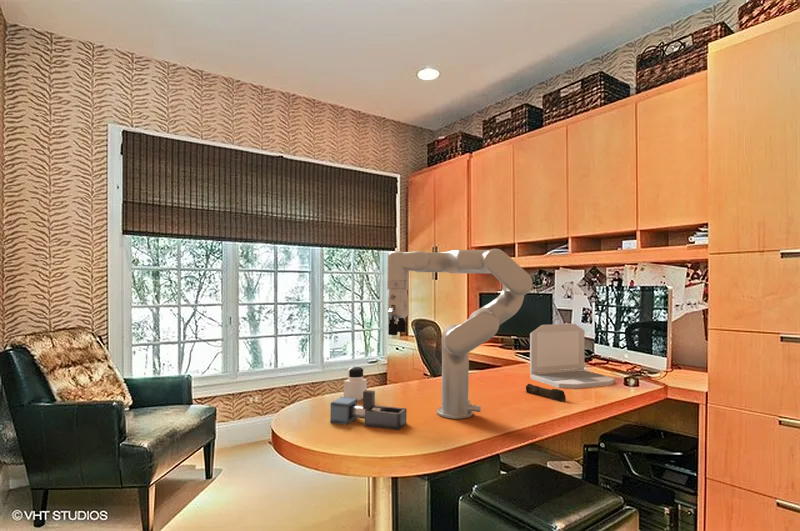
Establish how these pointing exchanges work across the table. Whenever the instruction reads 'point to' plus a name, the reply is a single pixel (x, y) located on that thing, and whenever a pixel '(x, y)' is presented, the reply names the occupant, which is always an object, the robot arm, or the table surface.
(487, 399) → the table surface
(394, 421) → the sleeve
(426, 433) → the table surface
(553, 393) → the hand tool
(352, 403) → the socket block
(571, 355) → the laptop
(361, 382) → the medicine bottle
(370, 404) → the sliding bolt
